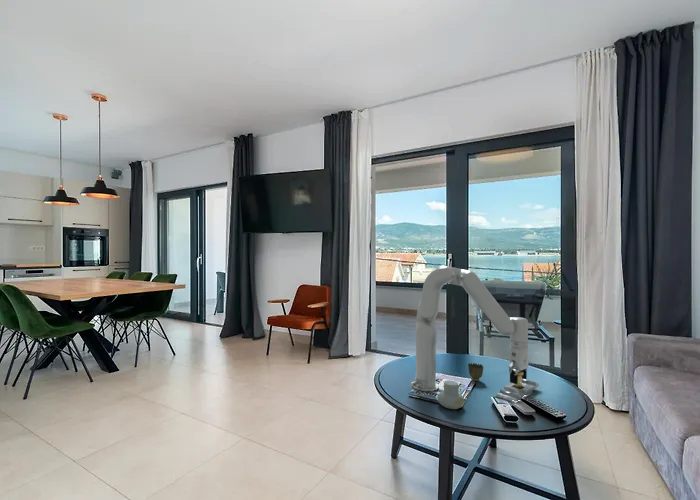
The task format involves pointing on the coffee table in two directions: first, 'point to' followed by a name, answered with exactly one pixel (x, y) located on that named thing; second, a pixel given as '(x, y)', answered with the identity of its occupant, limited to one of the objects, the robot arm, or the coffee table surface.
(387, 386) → the coffee table surface
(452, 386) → the air freshener
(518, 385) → the brass pin
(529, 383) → the plate with square hole
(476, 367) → the cup
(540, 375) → the coffee table surface
